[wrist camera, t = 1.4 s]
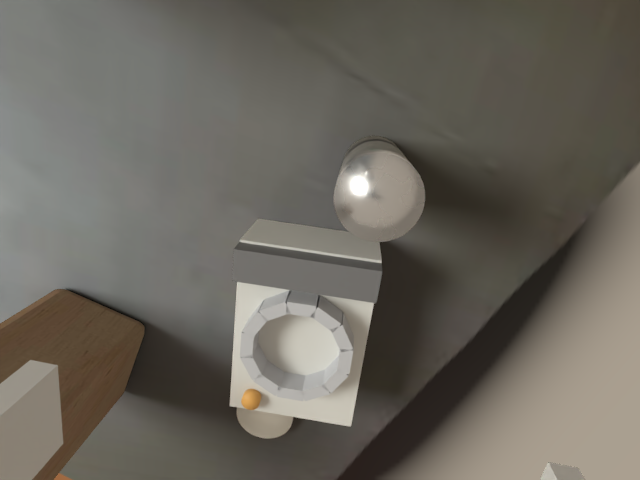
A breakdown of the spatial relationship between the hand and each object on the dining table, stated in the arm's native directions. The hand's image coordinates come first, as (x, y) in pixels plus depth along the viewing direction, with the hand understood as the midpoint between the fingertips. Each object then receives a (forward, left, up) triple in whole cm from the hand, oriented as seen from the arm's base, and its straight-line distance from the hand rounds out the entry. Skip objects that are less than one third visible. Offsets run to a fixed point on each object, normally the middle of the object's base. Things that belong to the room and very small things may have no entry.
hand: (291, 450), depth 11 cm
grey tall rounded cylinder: (-4, +2, -27) cm, 27 cm away
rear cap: (+23, -5, -27) cm, 36 cm away
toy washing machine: (+10, -2, -27) cm, 29 cm away
